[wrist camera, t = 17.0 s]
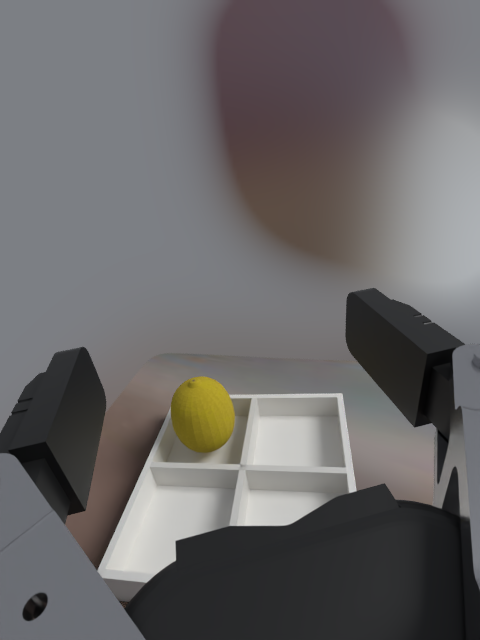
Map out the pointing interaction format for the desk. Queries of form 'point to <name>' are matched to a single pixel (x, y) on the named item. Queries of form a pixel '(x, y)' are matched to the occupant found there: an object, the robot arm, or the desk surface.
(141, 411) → the desk surface
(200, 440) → the lemon
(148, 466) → the divided tray
